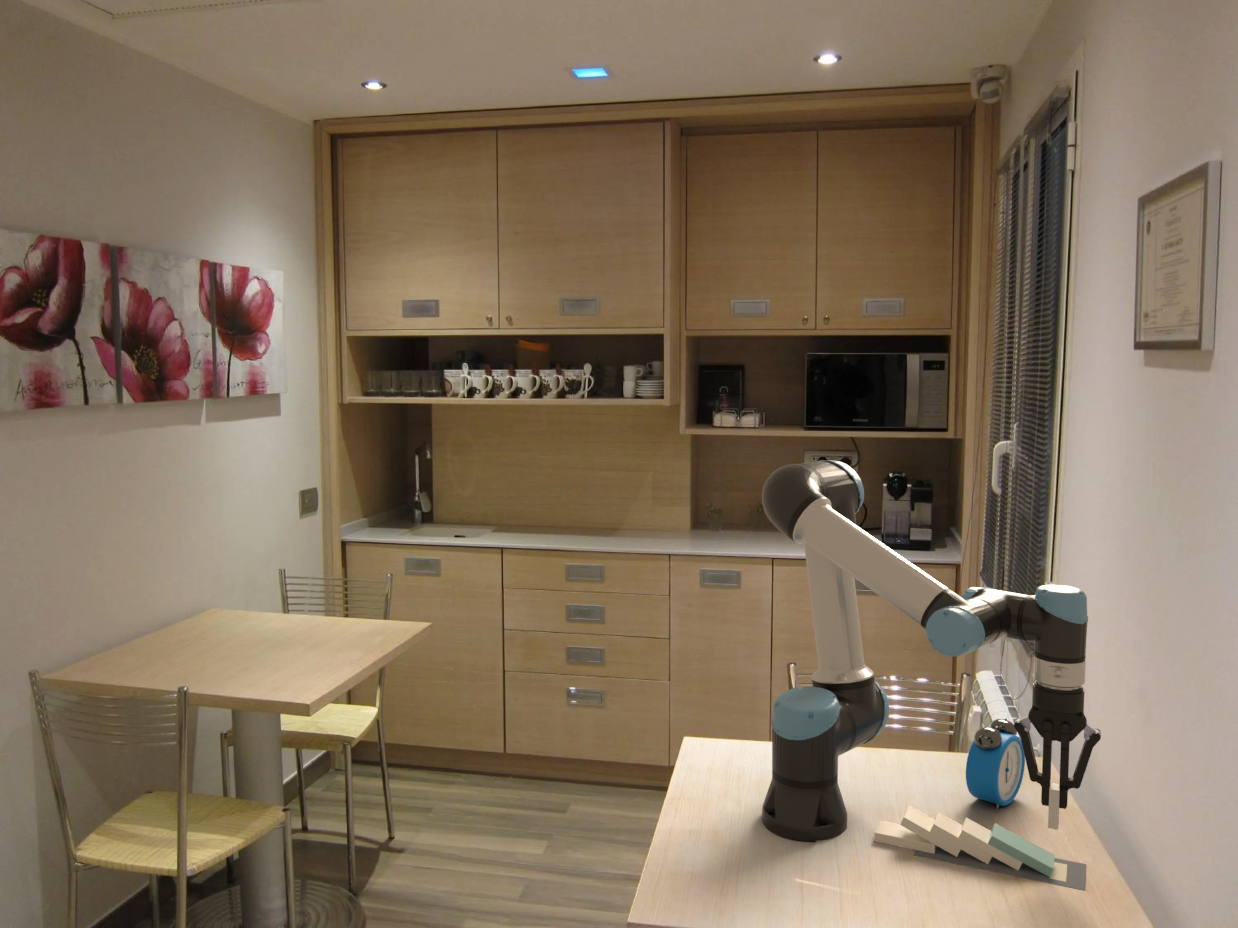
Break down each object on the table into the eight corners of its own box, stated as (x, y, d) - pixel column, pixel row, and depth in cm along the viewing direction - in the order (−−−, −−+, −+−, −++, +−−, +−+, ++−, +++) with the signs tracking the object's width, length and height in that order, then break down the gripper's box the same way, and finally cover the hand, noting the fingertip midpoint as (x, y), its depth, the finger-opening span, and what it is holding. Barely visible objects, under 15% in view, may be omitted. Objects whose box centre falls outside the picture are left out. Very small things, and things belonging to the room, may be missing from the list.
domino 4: (1018, 870, 158) (958, 837, 162) (1020, 856, 163) (962, 824, 167) (1022, 862, 158) (962, 829, 162) (1024, 848, 162) (966, 817, 166)
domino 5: (1054, 854, 160) (994, 822, 164) (1053, 868, 156) (991, 835, 160) (1050, 862, 161) (990, 830, 165) (1049, 876, 156) (987, 843, 160)
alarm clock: (995, 816, 178) (997, 737, 177) (962, 806, 182) (964, 728, 181) (1024, 794, 187) (1027, 718, 186) (993, 785, 192) (995, 710, 190)
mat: (913, 856, 164) (913, 854, 164) (922, 833, 172) (922, 831, 172) (1085, 892, 152) (1085, 890, 152) (1086, 865, 160) (1086, 863, 160)
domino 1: (934, 853, 164) (874, 841, 169) (939, 840, 169) (880, 828, 173) (934, 844, 164) (874, 832, 168) (939, 831, 168) (880, 820, 173)
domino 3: (988, 864, 160) (929, 831, 164) (991, 850, 165) (934, 819, 169) (992, 856, 160) (933, 823, 164) (995, 843, 164) (938, 811, 168)
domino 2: (956, 856, 163) (900, 824, 166) (960, 843, 167) (905, 812, 171) (960, 848, 162) (903, 816, 166) (964, 836, 167) (909, 805, 170)
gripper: (1012, 684, 155) (1008, 826, 157) (1104, 695, 149) (1098, 843, 151) (1016, 671, 162) (1012, 808, 164) (1104, 681, 156) (1098, 823, 158)
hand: (1053, 824), depth 158 cm, fingers closed
